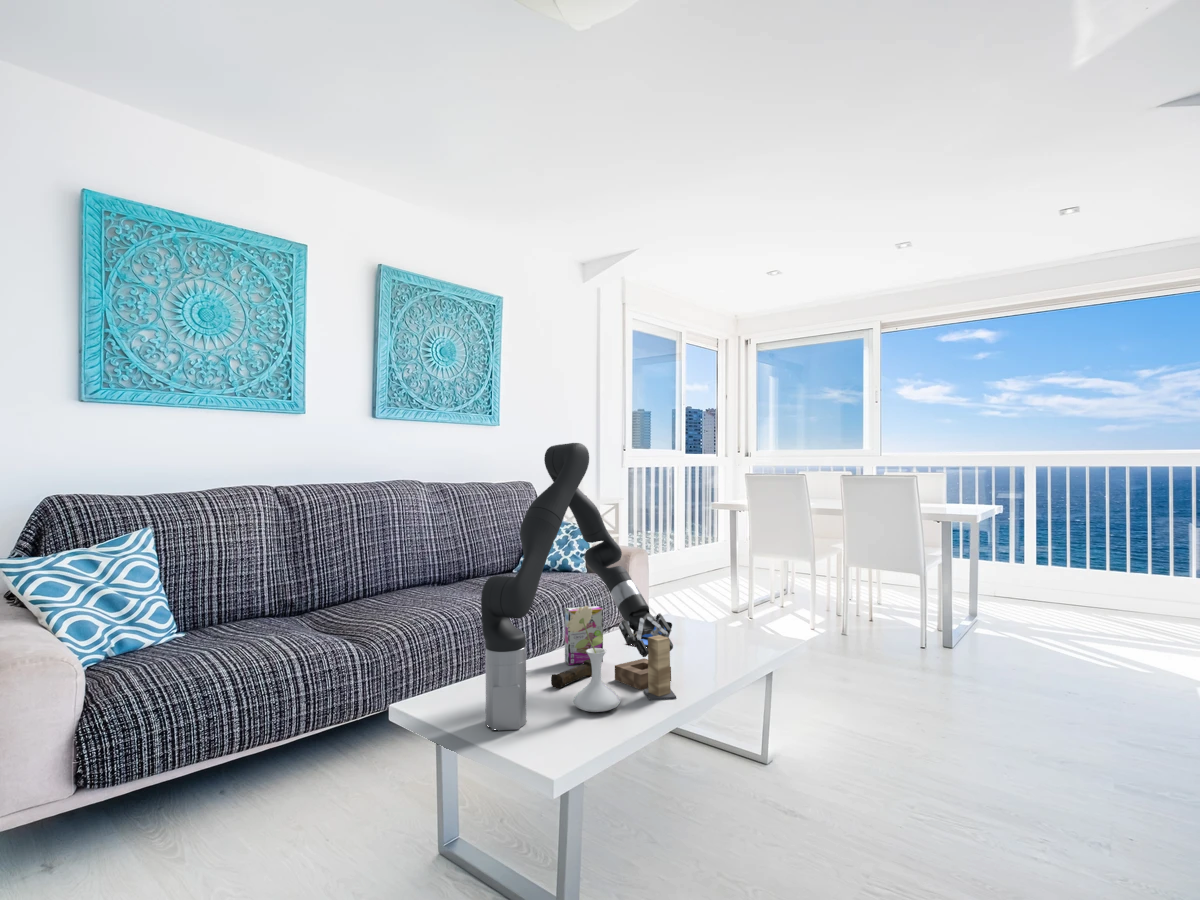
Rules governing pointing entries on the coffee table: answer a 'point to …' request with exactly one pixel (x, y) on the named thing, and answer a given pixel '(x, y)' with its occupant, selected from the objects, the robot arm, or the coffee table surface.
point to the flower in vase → (596, 691)
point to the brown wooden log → (571, 675)
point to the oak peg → (659, 665)
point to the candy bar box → (582, 635)
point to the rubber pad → (654, 697)
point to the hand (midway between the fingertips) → (658, 652)
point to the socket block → (634, 673)
